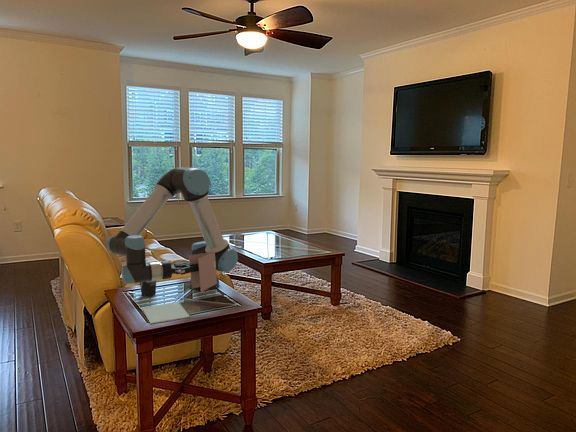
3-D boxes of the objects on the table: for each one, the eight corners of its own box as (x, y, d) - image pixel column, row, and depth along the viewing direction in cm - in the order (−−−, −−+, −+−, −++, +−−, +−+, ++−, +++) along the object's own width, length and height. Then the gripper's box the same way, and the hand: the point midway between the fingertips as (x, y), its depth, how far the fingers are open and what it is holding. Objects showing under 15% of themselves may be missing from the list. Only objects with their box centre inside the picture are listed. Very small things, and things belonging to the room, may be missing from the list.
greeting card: (216, 282, 201) (214, 250, 198) (221, 288, 194) (219, 255, 191) (191, 287, 196) (188, 255, 193) (196, 293, 189) (193, 259, 186)
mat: (142, 308, 196) (142, 307, 196) (178, 303, 203) (178, 302, 203) (150, 324, 178) (150, 323, 178) (189, 317, 186) (189, 316, 185)
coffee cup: (142, 298, 209) (141, 267, 207) (135, 293, 216) (133, 263, 214) (162, 294, 215) (160, 264, 213) (154, 290, 222) (152, 260, 220)
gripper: (158, 275, 194) (210, 268, 204) (164, 283, 182) (219, 275, 193) (157, 258, 193) (210, 252, 203) (163, 265, 181) (219, 258, 192)
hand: (214, 263), depth 198 cm, fingers closed
